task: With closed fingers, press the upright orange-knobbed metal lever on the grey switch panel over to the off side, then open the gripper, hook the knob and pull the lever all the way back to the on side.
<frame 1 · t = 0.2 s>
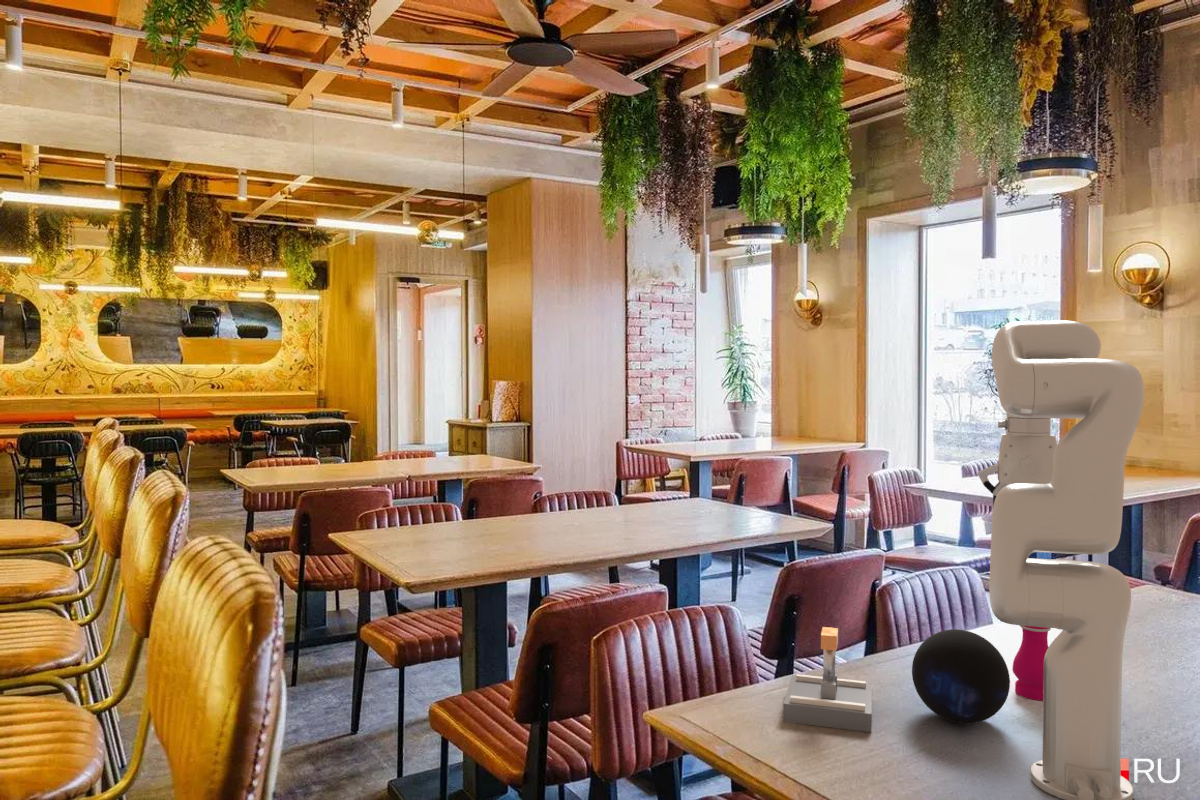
hand: (1027, 517, 161), 31 cm above the table, tool pointing down, fingers open, 9 cm apart
pepper mill: (1034, 695, 154), on the table
switch panel: (829, 711, 146), on the table
decorative sphere: (959, 721, 142), on the table
lever: (829, 661, 145), point 9 cm above the table, hinge at 0.0°
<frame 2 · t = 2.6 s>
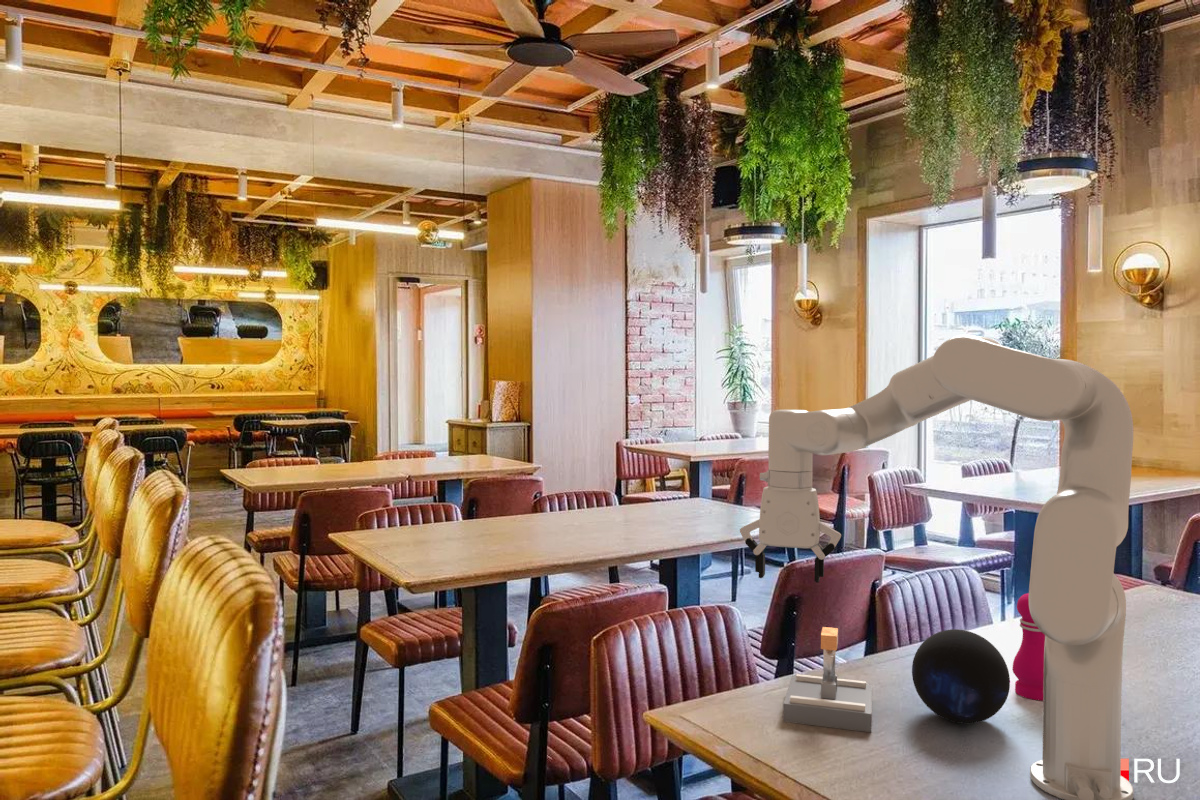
hand: (789, 578, 147), 22 cm above the table, tool pointing down, fingers open, 9 cm apart
nothing on the table moved.
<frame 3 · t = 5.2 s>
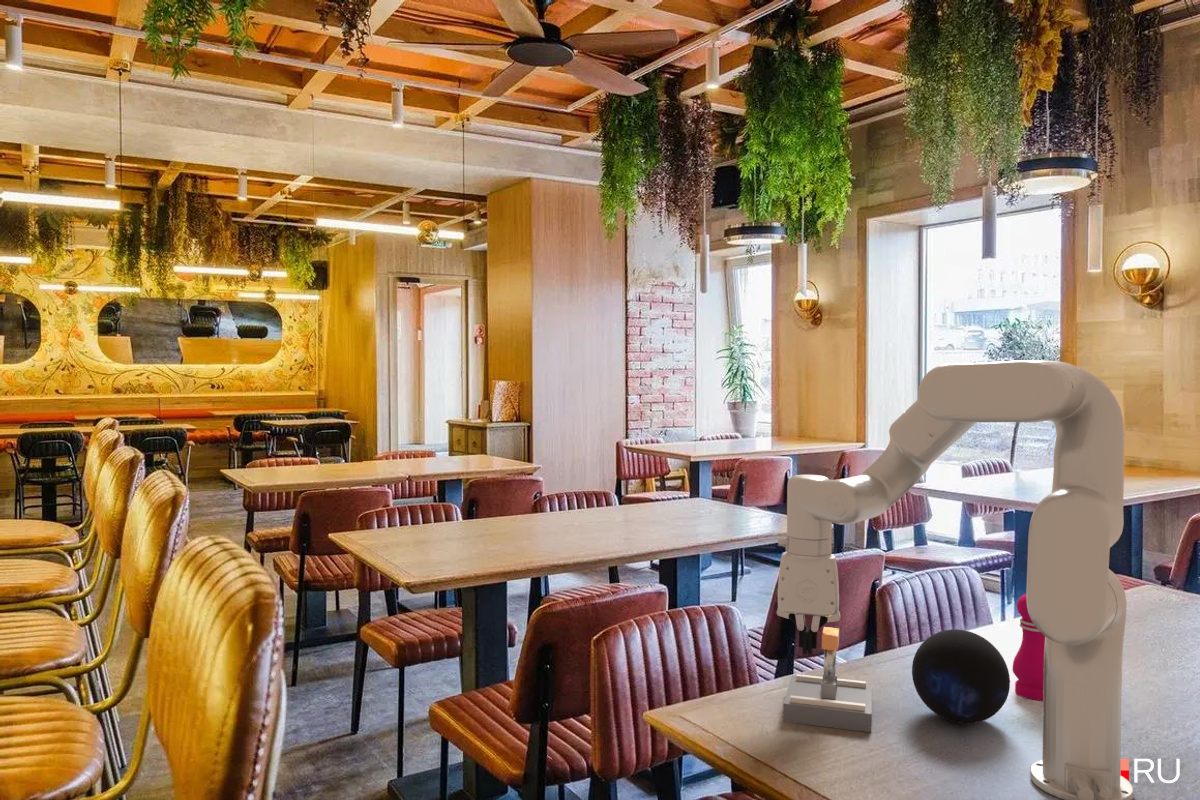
hand: (807, 651, 147), 10 cm above the table, tool pointing down, fingers closed
lever: (829, 661, 145), point 9 cm above the table, hinge at 1.2°, touching gripper
everything else where it was.
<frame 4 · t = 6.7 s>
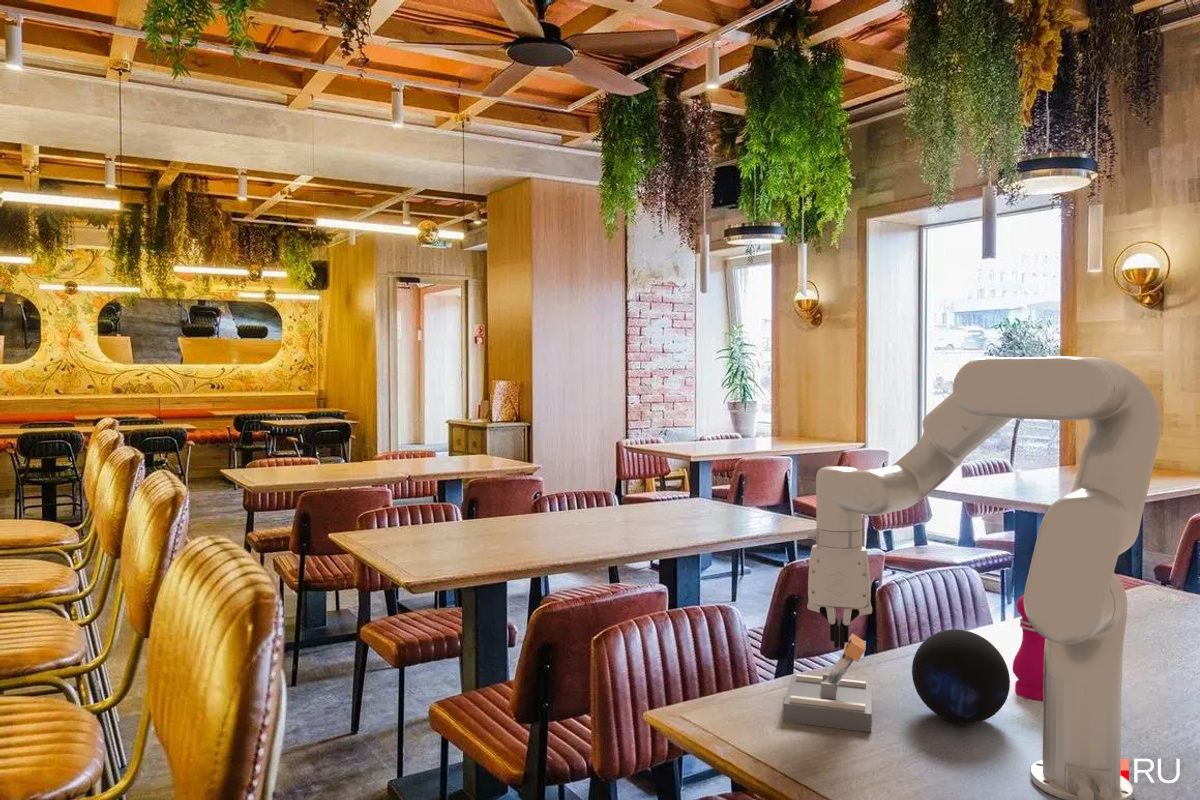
hand: (839, 645, 145), 12 cm above the table, tool pointing down, fingers closed
lever: (842, 666, 145), point 8 cm above the table, hinge at 30.4°
everything else where it was.
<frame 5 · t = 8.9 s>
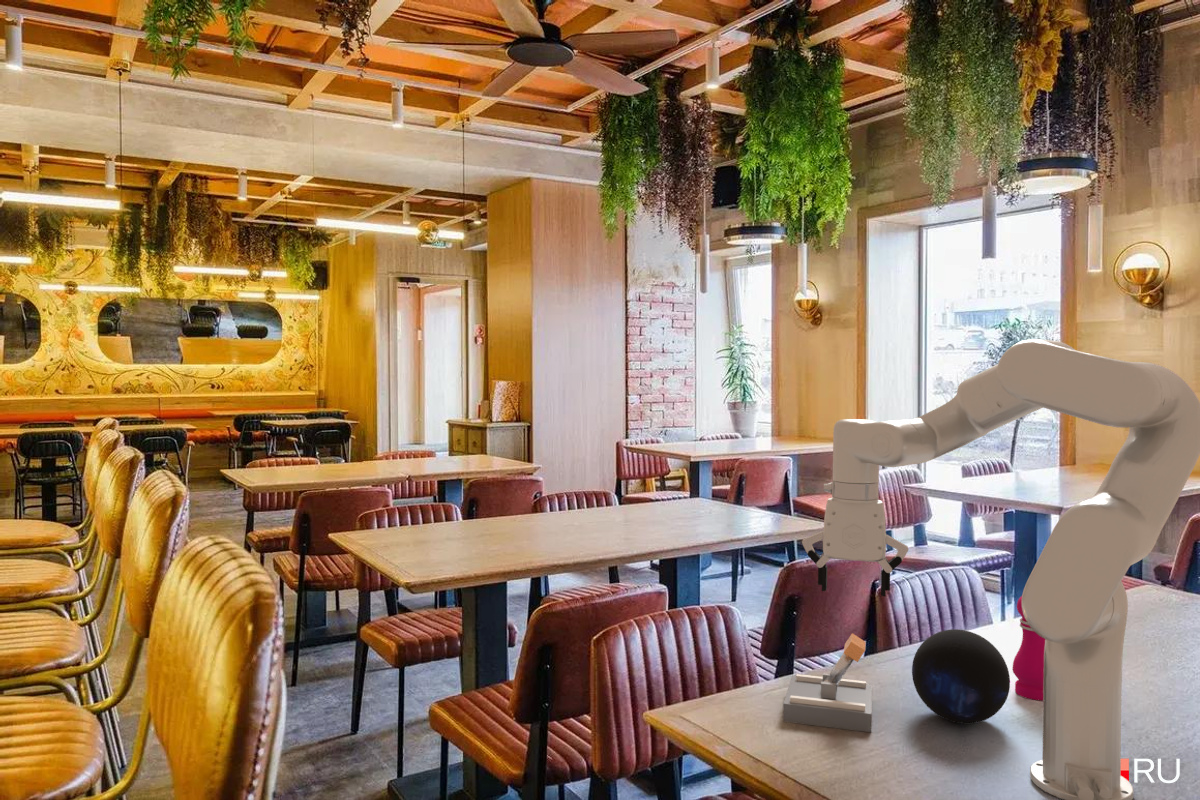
hand: (853, 591, 144), 21 cm above the table, tool pointing down, fingers open, 9 cm apart
nothing on the table moved.
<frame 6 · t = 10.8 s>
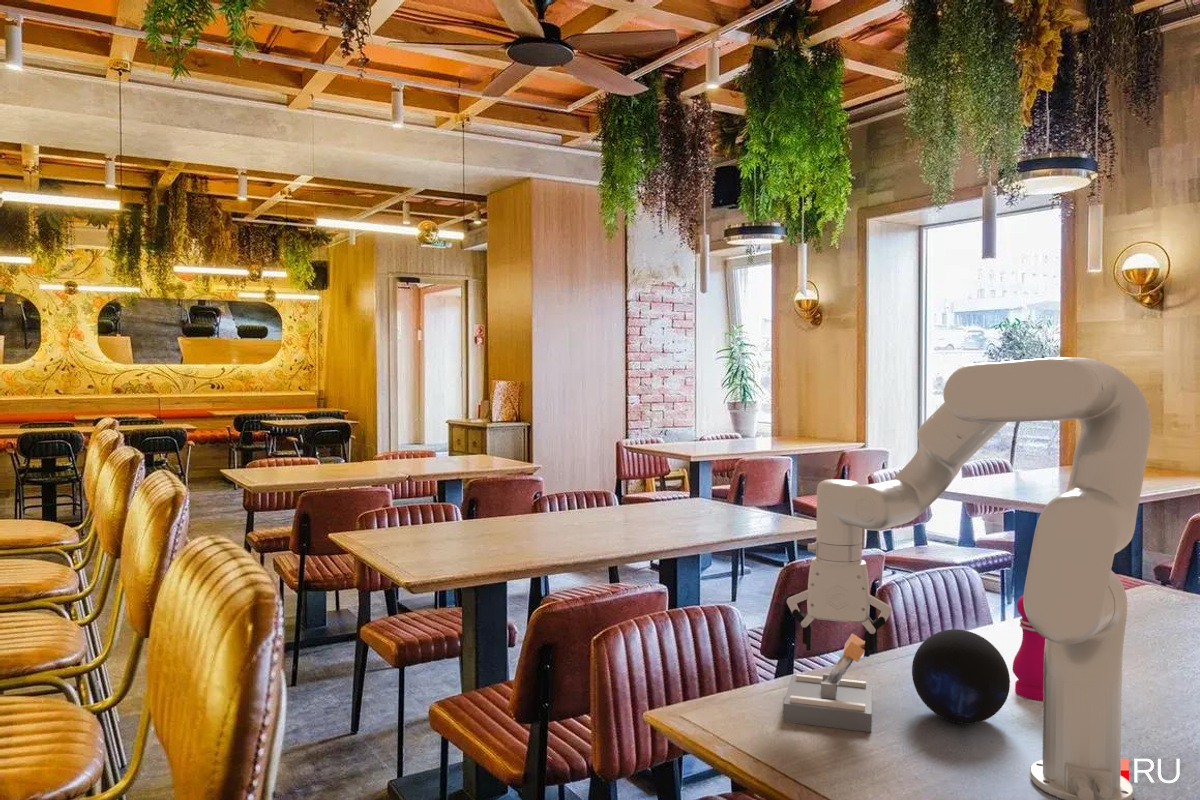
hand: (837, 651, 145), 10 cm above the table, tool pointing down, fingers open, 9 cm apart
lever: (842, 666, 145), point 8 cm above the table, hinge at 30.4°, touching gripper
everything else where it was.
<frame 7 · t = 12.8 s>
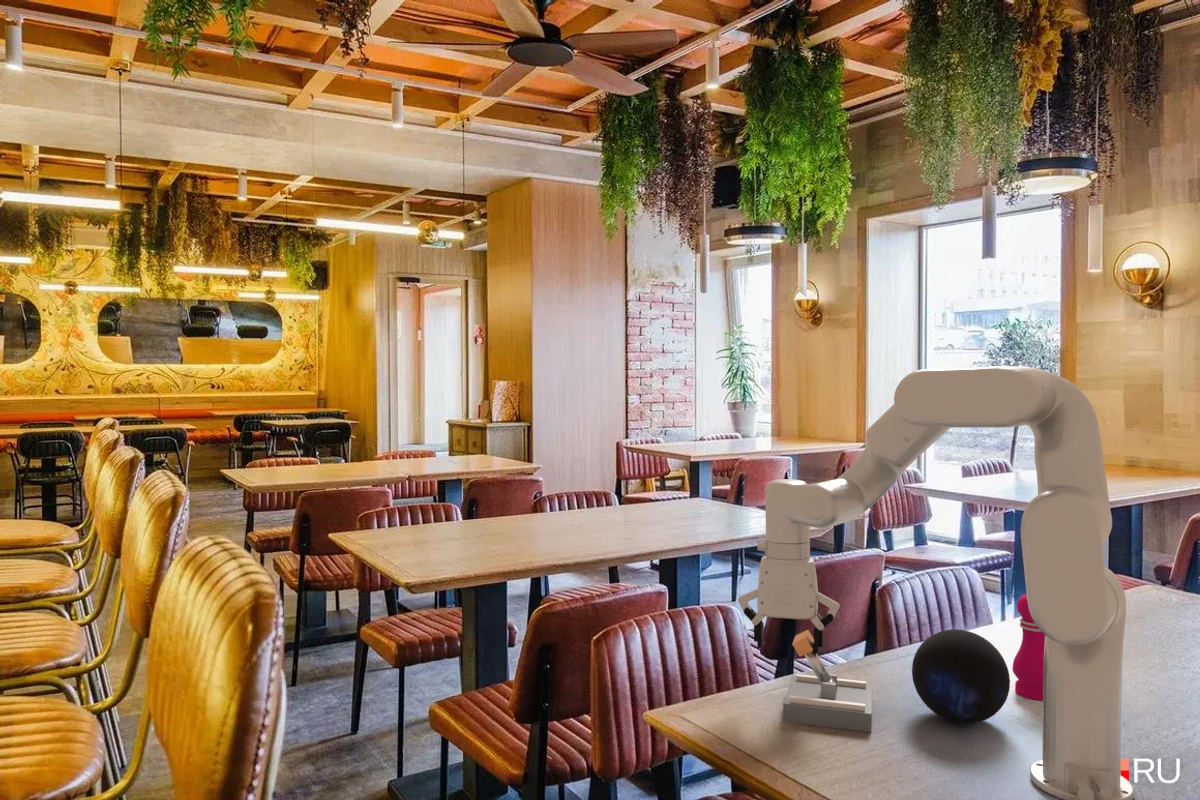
hand: (788, 648, 148), 10 cm above the table, tool pointing down, fingers open, 9 cm apart
lever: (816, 663, 146), point 8 cm above the table, hinge at -31.5°, touching gripper
everything else where it was.
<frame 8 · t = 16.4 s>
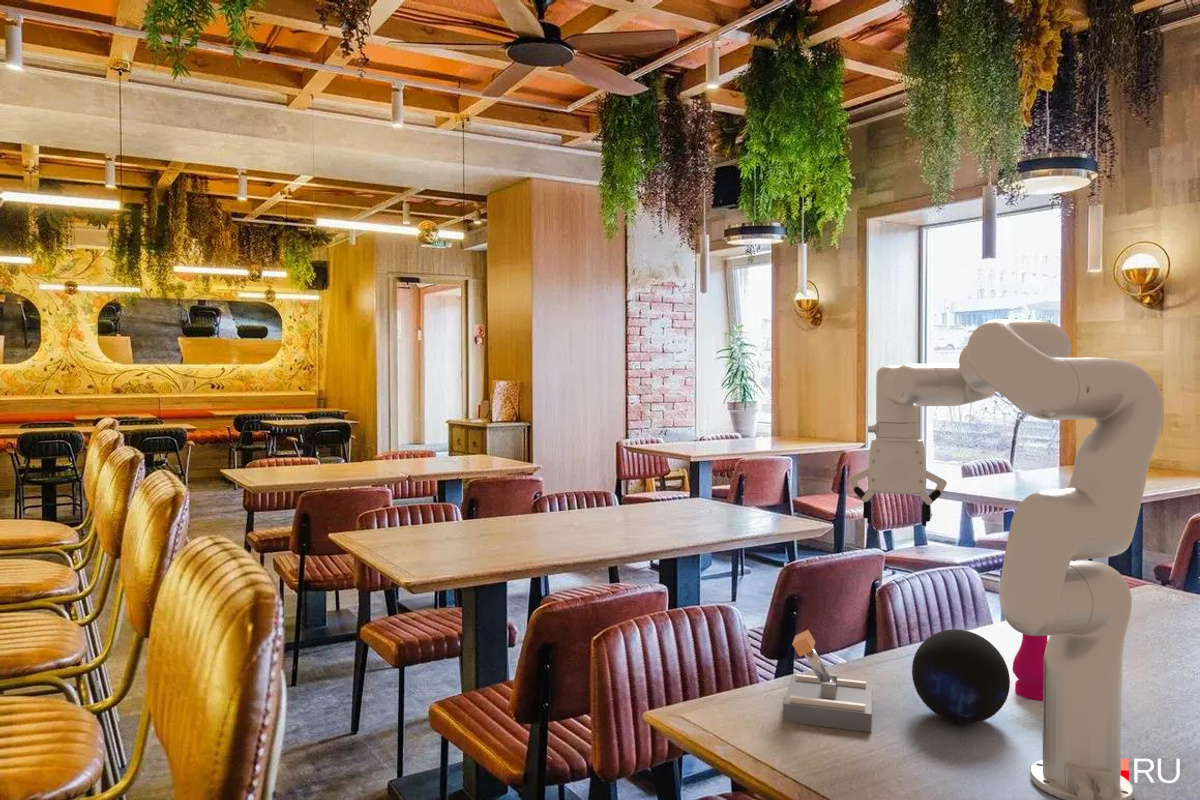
hand: (896, 523, 158), 30 cm above the table, tool pointing down, fingers open, 9 cm apart
lever: (816, 663, 146), point 8 cm above the table, hinge at -31.5°
everything else where it was.
at the end: lever at -32° (first picture: +0°); decorative sphere moved 0.2 cm from its start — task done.
